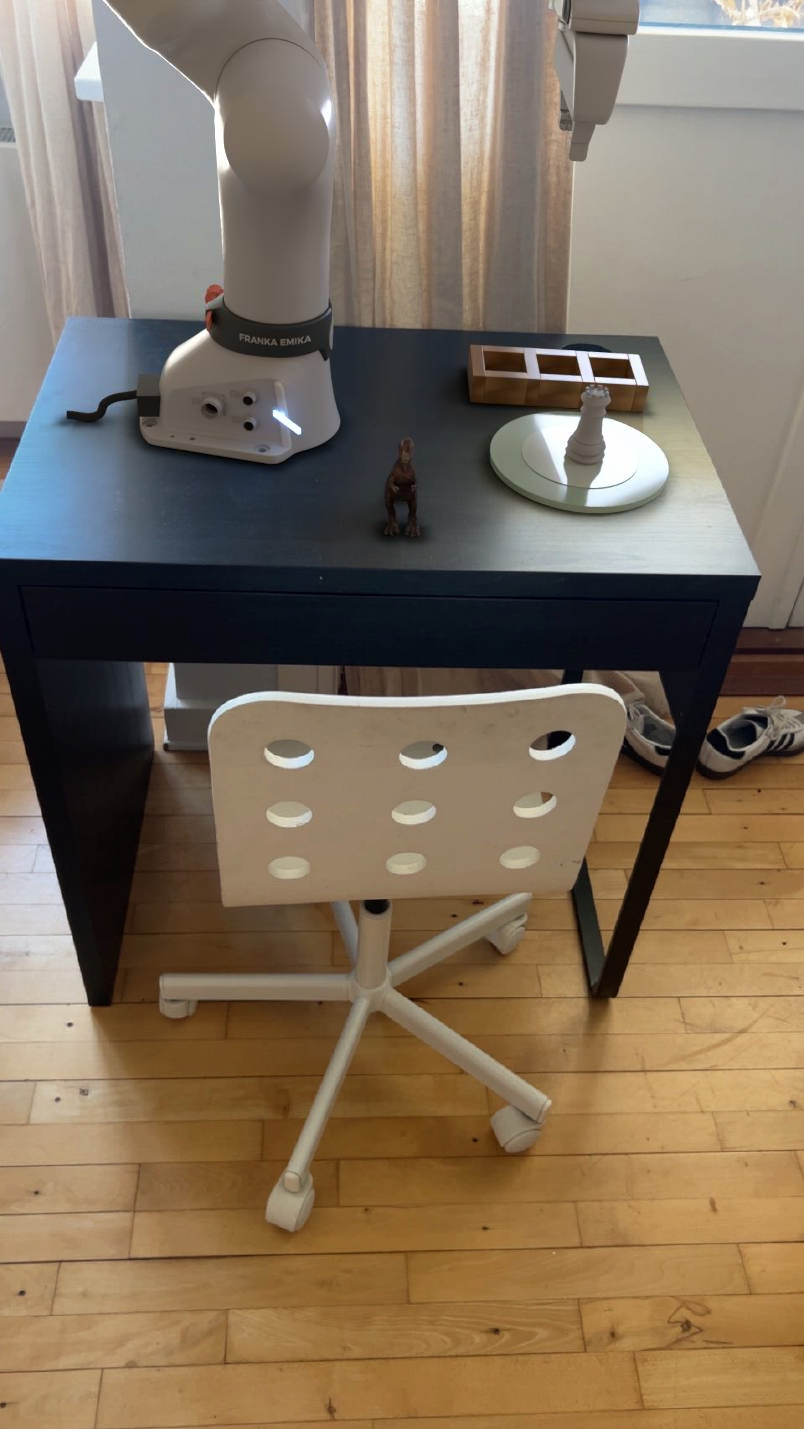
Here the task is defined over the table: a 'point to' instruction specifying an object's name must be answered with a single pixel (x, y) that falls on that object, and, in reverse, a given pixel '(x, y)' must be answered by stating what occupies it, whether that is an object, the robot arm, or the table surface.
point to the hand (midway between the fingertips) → (571, 143)
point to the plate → (548, 476)
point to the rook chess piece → (589, 428)
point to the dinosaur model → (402, 490)
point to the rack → (554, 377)
